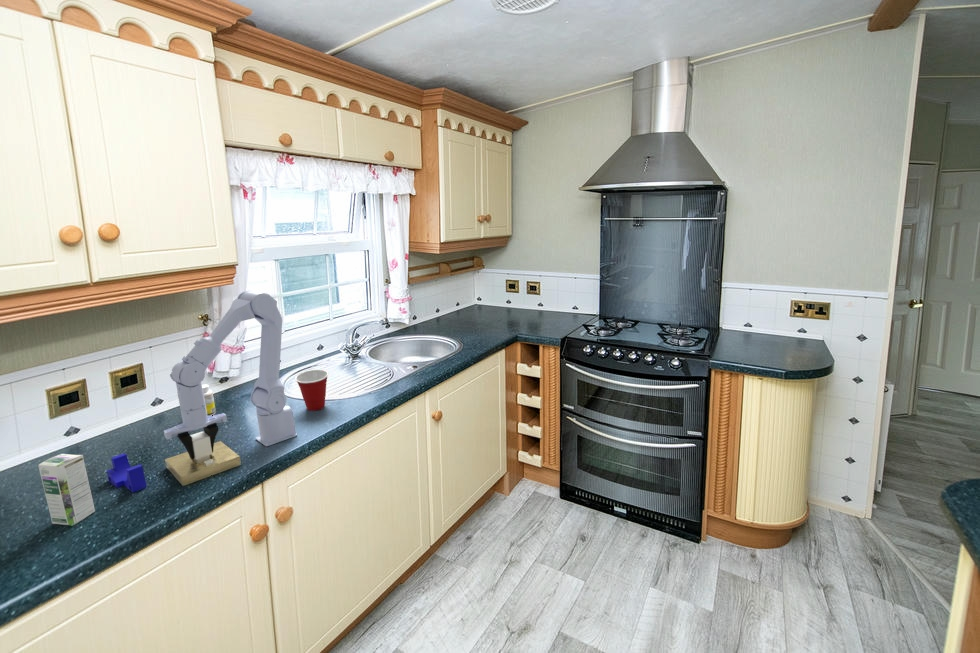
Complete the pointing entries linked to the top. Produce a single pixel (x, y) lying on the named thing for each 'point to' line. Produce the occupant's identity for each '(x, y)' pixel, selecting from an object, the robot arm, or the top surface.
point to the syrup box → (66, 489)
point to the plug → (201, 446)
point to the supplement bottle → (209, 400)
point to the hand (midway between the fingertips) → (201, 454)
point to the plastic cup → (313, 388)
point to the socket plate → (202, 464)
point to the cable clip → (126, 474)
